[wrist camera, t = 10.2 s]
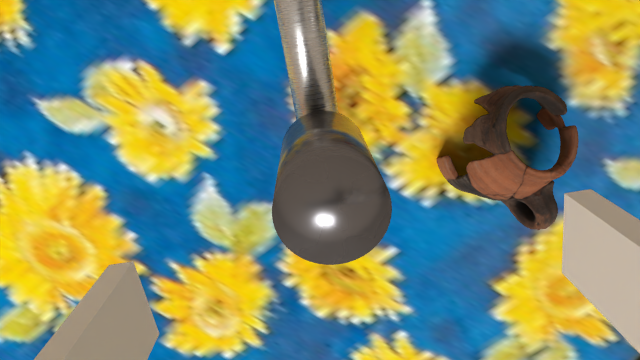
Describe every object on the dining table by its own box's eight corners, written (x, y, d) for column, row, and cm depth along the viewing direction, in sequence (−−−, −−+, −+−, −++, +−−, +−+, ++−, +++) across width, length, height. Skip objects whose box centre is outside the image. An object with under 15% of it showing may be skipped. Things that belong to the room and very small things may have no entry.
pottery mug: (408, 137, 39) (464, 112, 31) (482, 86, 42) (551, 51, 34) (481, 251, 40) (553, 255, 32) (548, 193, 42) (631, 184, 35)
